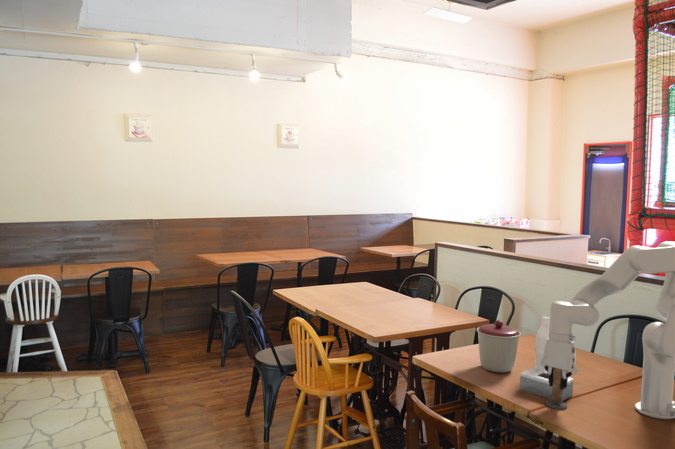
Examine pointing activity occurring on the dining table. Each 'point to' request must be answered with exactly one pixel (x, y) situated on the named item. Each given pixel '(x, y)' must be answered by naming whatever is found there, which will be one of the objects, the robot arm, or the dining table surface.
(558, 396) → the brown wooden block
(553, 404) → the coaster
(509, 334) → the canister
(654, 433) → the dining table surface
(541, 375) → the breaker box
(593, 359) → the dining table surface
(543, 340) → the water bottle
